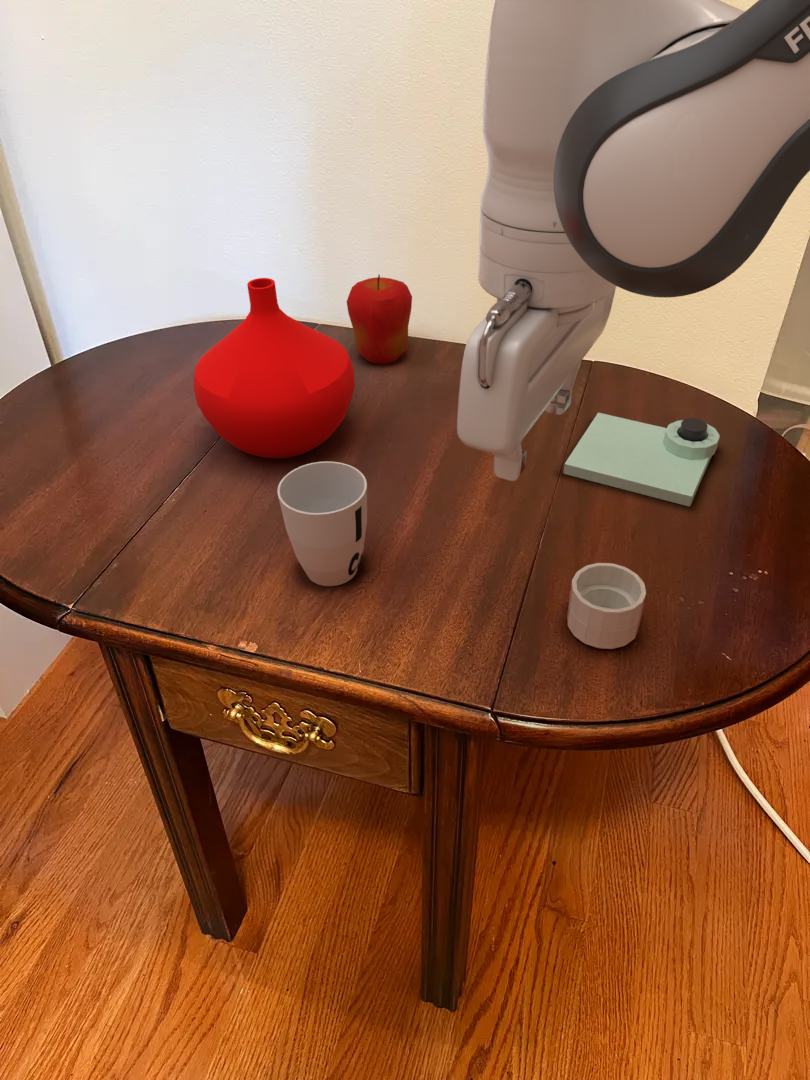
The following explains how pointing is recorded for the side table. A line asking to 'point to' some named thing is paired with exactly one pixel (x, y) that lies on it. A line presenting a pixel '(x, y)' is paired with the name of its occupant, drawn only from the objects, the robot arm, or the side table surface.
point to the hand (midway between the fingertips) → (533, 440)
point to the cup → (325, 519)
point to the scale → (642, 458)
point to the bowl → (605, 605)
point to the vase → (274, 381)
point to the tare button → (693, 429)
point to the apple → (380, 318)
